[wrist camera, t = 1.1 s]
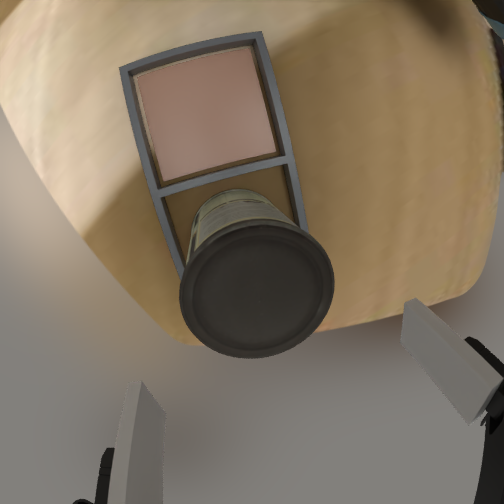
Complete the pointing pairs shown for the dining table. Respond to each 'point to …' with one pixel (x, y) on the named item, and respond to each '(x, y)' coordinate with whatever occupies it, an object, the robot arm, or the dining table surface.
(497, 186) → the dining table surface
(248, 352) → the coffee can
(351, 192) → the dining table surface
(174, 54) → the organiser
